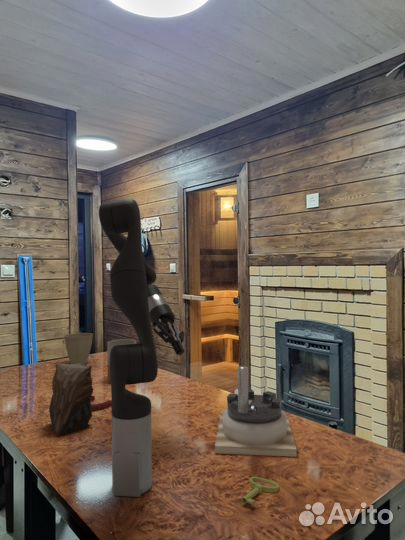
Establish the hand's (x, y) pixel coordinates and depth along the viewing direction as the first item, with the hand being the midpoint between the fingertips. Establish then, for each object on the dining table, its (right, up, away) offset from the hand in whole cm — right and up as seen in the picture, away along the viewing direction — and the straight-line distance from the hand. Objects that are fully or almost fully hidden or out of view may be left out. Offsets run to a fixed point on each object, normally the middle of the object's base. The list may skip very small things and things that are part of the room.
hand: (181, 353), depth 117 cm
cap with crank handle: (+20, -18, 0) cm, 27 cm away
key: (+19, -26, -27) cm, 42 cm away
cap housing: (+22, -24, +2) cm, 32 cm away
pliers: (-38, -27, +28) cm, 54 cm away
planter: (-30, -26, +64) cm, 75 cm away
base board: (+22, -26, +2) cm, 34 cm away
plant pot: (-60, -26, +95) cm, 116 cm away
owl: (-37, -26, +10) cm, 47 cm away
